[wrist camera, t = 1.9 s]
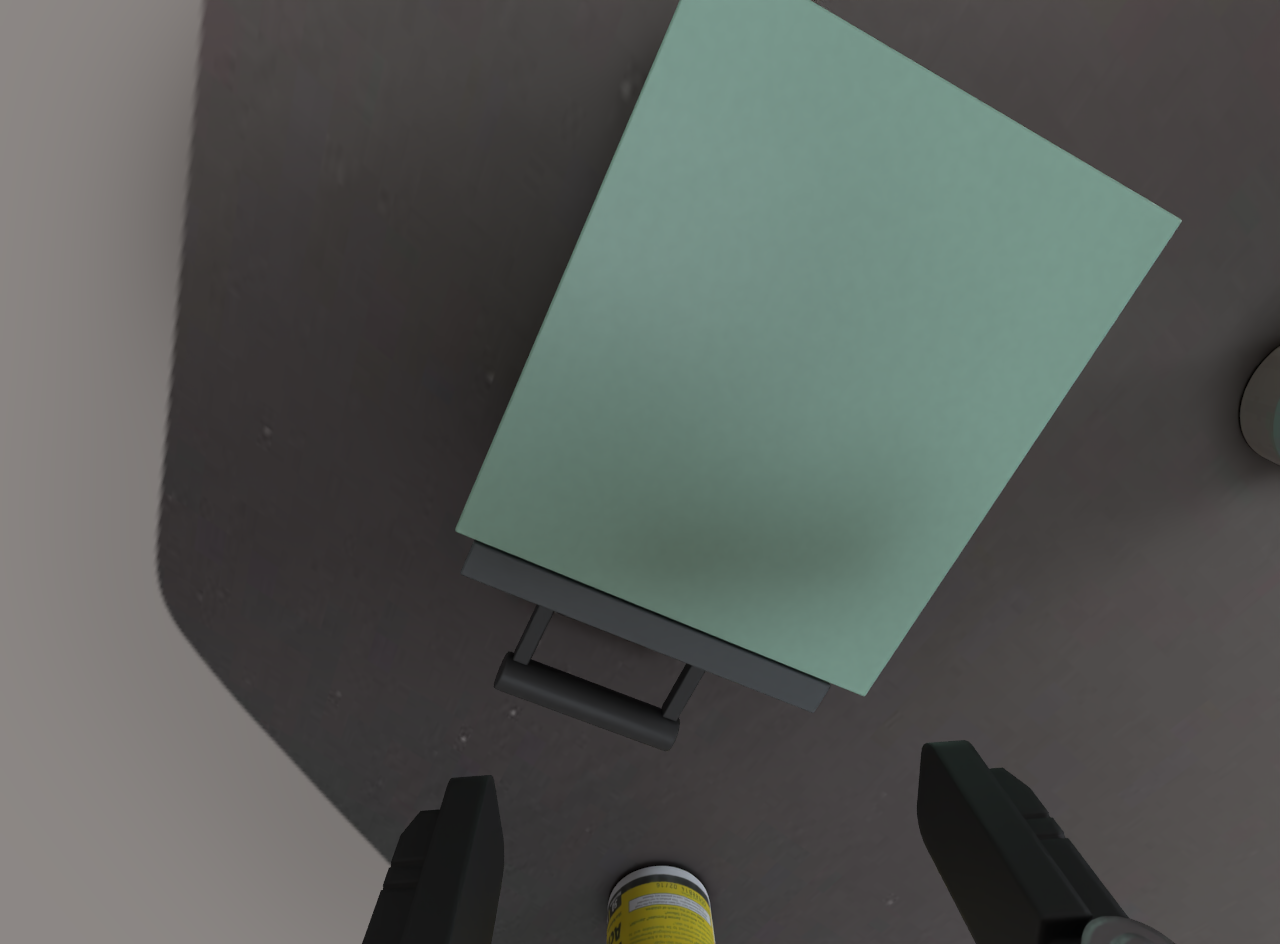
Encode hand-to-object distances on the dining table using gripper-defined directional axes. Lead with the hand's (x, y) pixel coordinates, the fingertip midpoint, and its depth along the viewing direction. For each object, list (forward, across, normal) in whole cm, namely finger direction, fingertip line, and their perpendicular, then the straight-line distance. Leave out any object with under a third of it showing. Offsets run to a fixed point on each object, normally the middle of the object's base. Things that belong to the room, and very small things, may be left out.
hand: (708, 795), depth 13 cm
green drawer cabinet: (+17, -4, -6) cm, 19 cm away
